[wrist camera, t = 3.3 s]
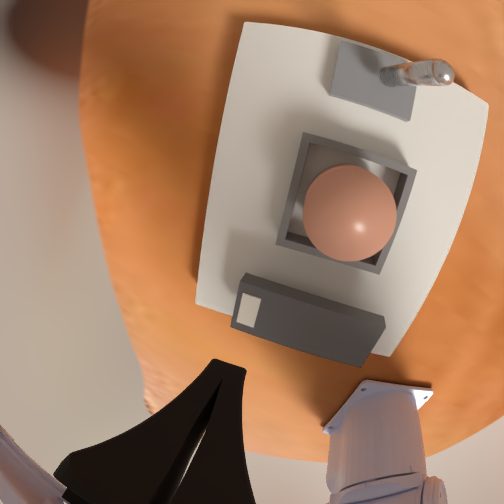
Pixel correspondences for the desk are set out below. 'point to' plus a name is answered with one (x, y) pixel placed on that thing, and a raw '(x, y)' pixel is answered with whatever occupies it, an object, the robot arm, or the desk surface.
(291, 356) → the desk surface
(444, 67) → the toggle lever
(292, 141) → the switch panel
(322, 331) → the rocker switch
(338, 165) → the push button
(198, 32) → the desk surface
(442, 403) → the desk surface
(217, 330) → the desk surface
